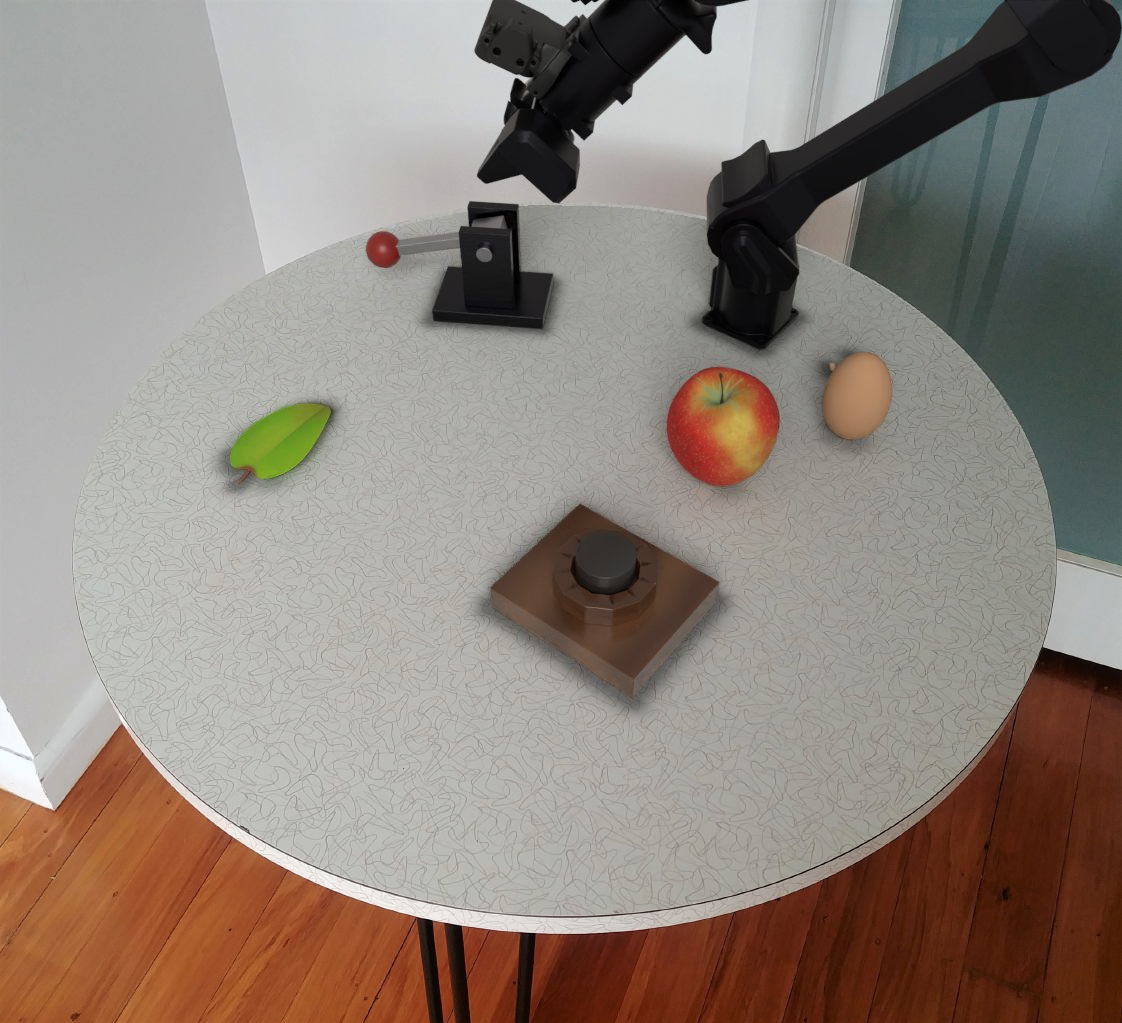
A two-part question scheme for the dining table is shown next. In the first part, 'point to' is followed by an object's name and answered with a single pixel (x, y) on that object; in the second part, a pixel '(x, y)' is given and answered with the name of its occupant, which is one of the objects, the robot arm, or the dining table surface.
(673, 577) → the button block
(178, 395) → the dining table surface
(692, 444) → the apple
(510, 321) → the bracket
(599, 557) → the button
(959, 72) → the robot arm
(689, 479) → the dining table surface
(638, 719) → the dining table surface
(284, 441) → the decorative leaf
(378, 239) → the switch
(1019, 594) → the dining table surface
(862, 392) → the egg
